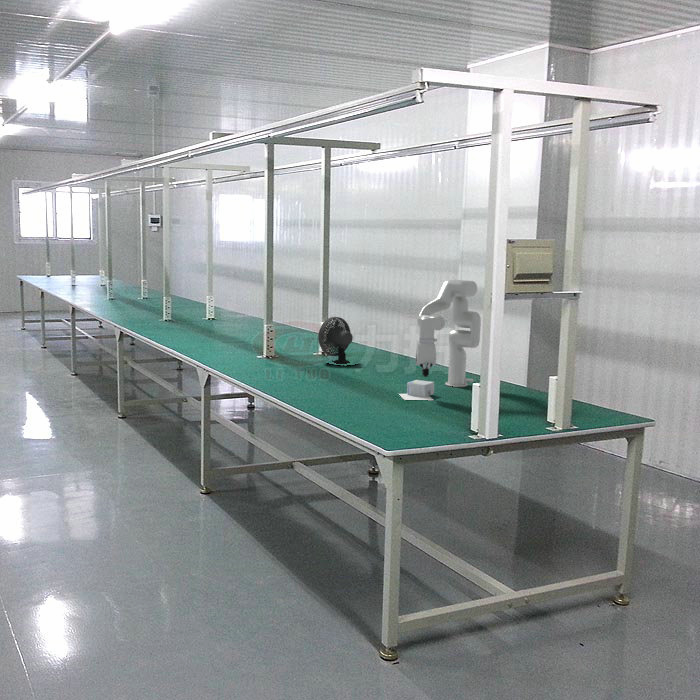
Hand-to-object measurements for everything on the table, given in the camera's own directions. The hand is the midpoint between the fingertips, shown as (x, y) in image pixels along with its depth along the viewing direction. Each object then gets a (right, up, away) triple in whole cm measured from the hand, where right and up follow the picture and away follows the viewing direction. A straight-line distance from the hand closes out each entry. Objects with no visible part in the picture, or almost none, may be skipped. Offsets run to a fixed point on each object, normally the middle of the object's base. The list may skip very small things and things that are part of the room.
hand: (425, 376), depth 393 cm
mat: (-5, -11, 0) cm, 12 cm away
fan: (-47, +5, +104) cm, 115 cm away
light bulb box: (+3, -7, +3) cm, 8 cm away
